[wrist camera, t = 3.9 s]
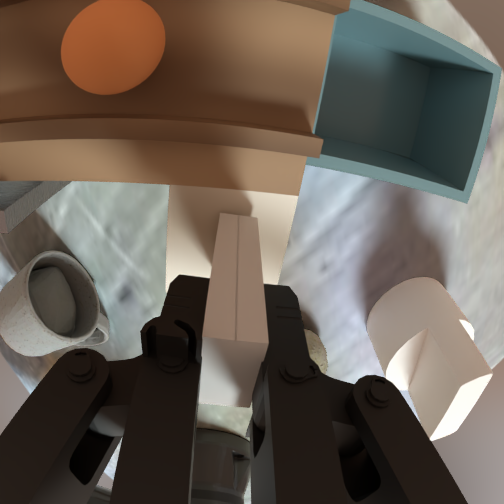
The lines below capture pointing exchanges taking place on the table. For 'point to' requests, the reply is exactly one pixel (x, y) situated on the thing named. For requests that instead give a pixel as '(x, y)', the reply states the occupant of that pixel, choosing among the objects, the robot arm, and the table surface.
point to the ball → (113, 46)
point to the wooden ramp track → (178, 115)
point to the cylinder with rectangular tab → (429, 352)
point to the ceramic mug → (51, 307)
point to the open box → (404, 103)
